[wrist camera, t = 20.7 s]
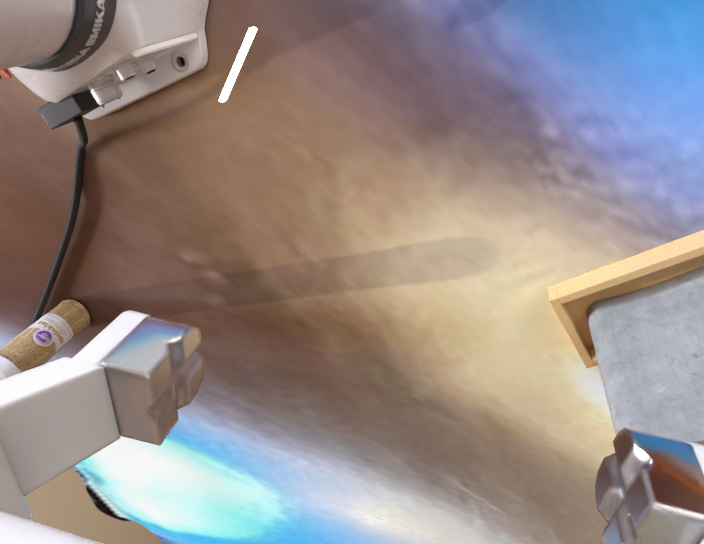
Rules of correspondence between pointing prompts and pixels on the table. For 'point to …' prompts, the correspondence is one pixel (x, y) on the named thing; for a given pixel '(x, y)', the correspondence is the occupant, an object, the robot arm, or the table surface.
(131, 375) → the robot arm
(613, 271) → the flask stand
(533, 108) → the table surface
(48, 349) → the sprinkles bottle
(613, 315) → the hip flask
